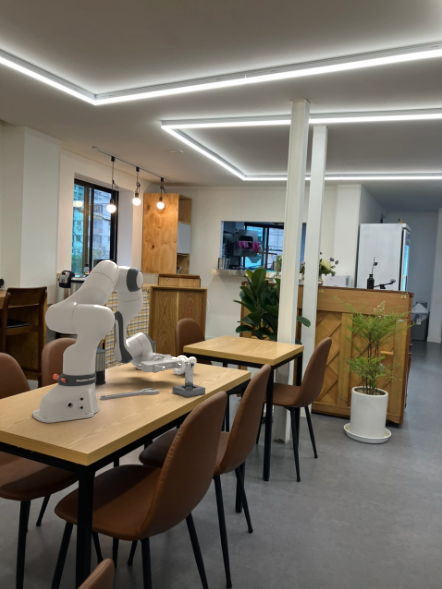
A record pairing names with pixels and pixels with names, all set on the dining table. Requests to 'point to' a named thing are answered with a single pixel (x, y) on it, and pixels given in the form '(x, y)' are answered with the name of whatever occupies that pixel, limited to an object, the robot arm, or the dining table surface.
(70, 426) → the dining table surface
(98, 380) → the milk frother
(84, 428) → the dining table surface
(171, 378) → the dining table surface
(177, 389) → the socket block
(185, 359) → the white knot
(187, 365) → the keyed metal peg
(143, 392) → the adjustable wrench
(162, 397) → the dining table surface
